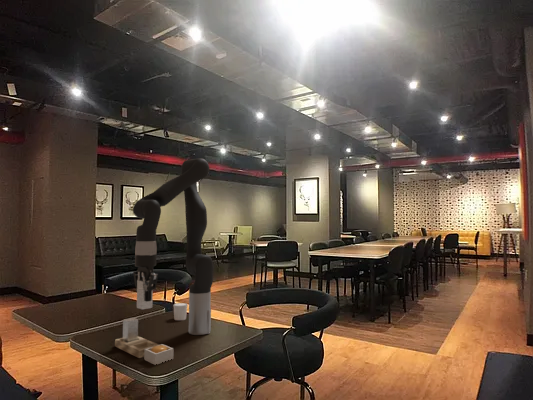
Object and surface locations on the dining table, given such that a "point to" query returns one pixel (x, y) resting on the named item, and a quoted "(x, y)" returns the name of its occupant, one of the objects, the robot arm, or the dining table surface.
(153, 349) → the button
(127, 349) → the beige compartment tray
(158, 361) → the button housing
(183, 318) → the white cup
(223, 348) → the dining table surface
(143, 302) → the loose billet
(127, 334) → the seated billet
